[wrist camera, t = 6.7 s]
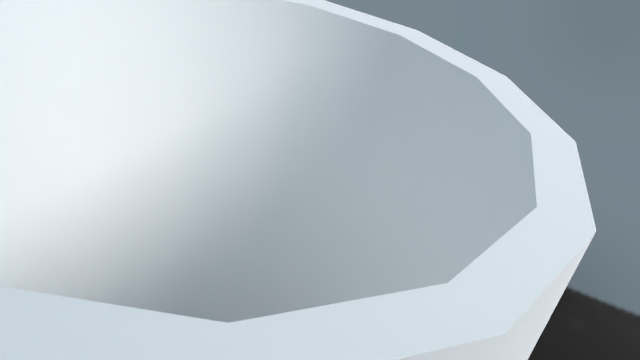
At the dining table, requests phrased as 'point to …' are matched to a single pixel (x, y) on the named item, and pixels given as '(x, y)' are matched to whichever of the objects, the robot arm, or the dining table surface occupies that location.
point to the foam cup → (271, 188)
